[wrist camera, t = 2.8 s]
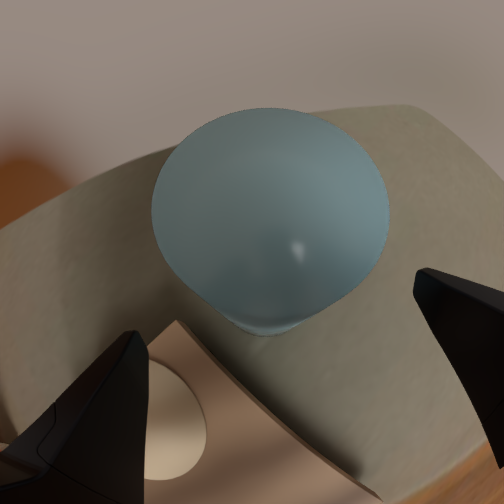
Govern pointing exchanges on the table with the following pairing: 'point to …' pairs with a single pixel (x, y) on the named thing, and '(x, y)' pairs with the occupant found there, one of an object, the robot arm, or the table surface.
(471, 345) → the robot arm
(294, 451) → the plate
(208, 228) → the light blue rounded piece
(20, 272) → the table surface
